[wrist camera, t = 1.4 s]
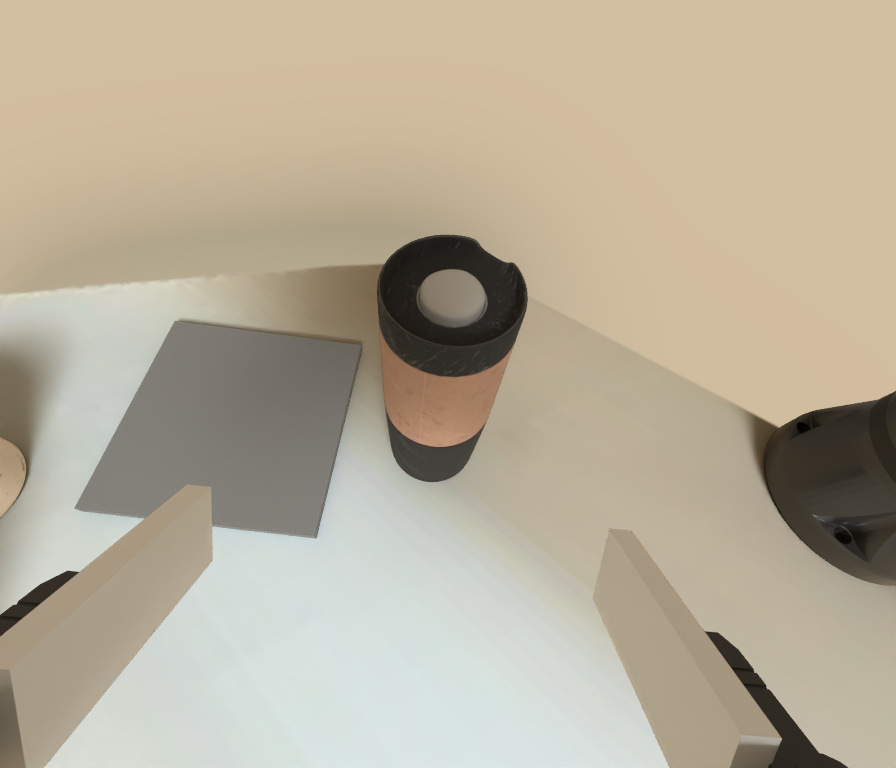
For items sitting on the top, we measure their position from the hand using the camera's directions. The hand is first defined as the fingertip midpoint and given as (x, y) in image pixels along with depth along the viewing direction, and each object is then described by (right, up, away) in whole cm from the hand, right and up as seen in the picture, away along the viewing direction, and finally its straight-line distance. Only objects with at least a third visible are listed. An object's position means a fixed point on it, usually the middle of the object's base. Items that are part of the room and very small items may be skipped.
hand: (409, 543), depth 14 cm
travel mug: (0, 0, +24) cm, 24 cm away
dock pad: (-17, +2, +24) cm, 29 cm away
